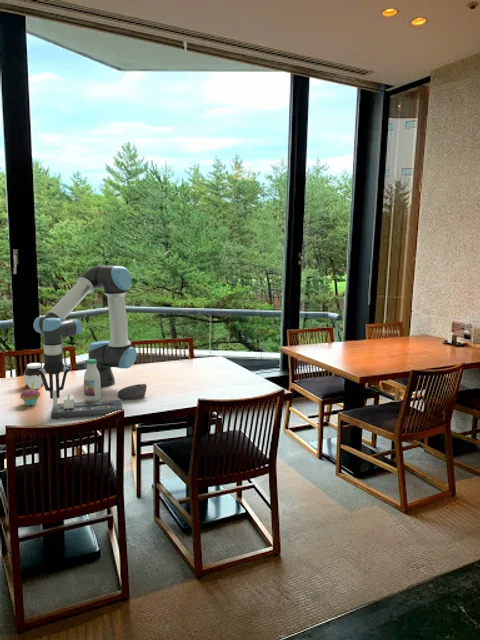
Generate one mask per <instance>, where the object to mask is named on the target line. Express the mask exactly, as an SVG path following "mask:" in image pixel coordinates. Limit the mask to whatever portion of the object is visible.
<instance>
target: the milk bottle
mask: <svg viewBox="0 0 480 640" xmlns="http://www.w3.org/2000/svg"><path fill="white" fill-rule="evenodd" d="M96 364H97V360H96V359H89V358H88V359H86V365H87V366H86V369H85V372H84V375H83V395H84V396H83V397H84V402H91V401H101V399H102V396H101V395H102V394H101V393H102V392H101V391H102V390H101V388H102V387H101V385H100V374H99V371H98V369H97V367H96Z"/></svg>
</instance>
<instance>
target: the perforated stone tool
mask: <svg viewBox="0 0 480 640" xmlns="http://www.w3.org/2000/svg"><path fill="white" fill-rule="evenodd" d="M146 392H147V384H146V383H140V384H139V383H137V384H133V385H129V386H125V387H123V388H121V389H120V390H118V392H117V398H118V399H119V400H120V399H121V401H123V400H126V401H127V400H138V399H143V398H145V397H146Z"/></svg>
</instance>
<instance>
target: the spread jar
mask: <svg viewBox="0 0 480 640" xmlns="http://www.w3.org/2000/svg"><path fill="white" fill-rule="evenodd" d="M41 368H42V364H41V363H40V362H31V363H28V364H26V369H25V370H24V372H23V383H24V385H25V386H26V387H28V388H29V389H32V383H33V381H34V388H33V389H34V390H37V389H39V388H41V387H42V386H44V384H43V381H42V378H41V375H40V374H39V373H38V371H39V369H41ZM44 374H45V375H46V371H45V372H44Z"/></svg>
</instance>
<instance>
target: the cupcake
mask: <svg viewBox="0 0 480 640" xmlns="http://www.w3.org/2000/svg"><path fill="white" fill-rule="evenodd" d="M33 388H34V381H33V383H32V389H31V388H29V389H26V390H23V391H22V392H21V393H20V399H21V400H22V401H23V402H24V404H25V406H27V405H32V406H35V405H36V404H37V402H38V399H39V398H40V397H41V392H40V391H39V390H37V389H33ZM34 404H35V405H34Z"/></svg>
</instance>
